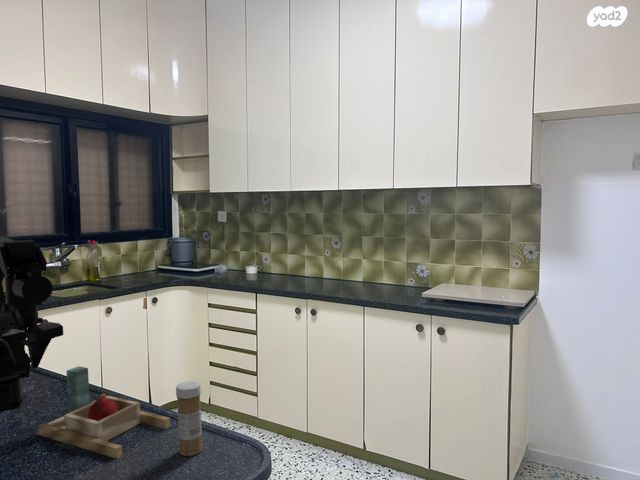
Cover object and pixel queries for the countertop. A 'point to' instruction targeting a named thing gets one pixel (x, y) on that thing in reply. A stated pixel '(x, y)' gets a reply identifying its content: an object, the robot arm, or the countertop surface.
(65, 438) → the guide rails
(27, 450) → the countertop surface
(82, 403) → the wooden open tray
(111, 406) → the onion
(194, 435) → the sprinkles bottle
